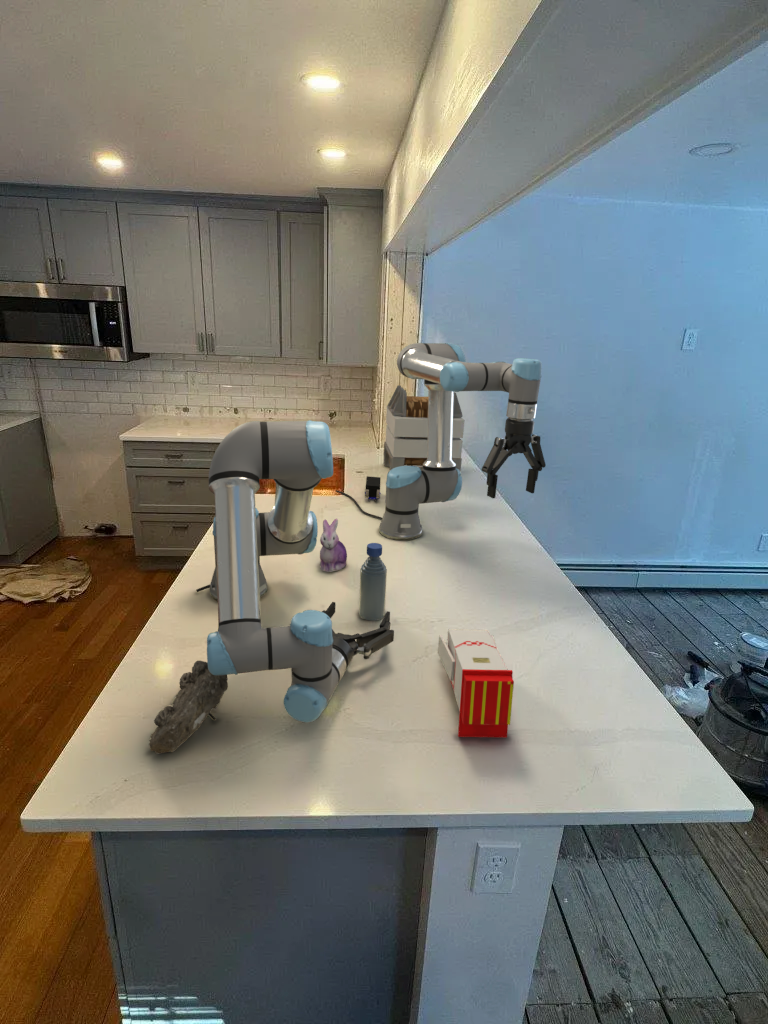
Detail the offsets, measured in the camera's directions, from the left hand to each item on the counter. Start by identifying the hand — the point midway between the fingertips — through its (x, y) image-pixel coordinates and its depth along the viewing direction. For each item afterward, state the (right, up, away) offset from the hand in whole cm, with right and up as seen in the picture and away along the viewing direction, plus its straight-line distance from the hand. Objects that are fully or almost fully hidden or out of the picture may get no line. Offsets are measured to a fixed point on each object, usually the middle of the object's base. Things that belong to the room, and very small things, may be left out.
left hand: (360, 611), depth 135 cm
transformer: (+23, +43, +140) cm, 148 cm away
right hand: (+41, +29, +23) cm, 55 cm away
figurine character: (+1, +30, +101) cm, 105 cm away
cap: (+3, +15, +5) cm, 16 cm away
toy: (+23, -14, -17) cm, 32 cm away
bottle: (+2, -3, +12) cm, 12 cm away
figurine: (-10, +7, +37) cm, 39 cm away
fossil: (-30, -15, -28) cm, 44 cm away
